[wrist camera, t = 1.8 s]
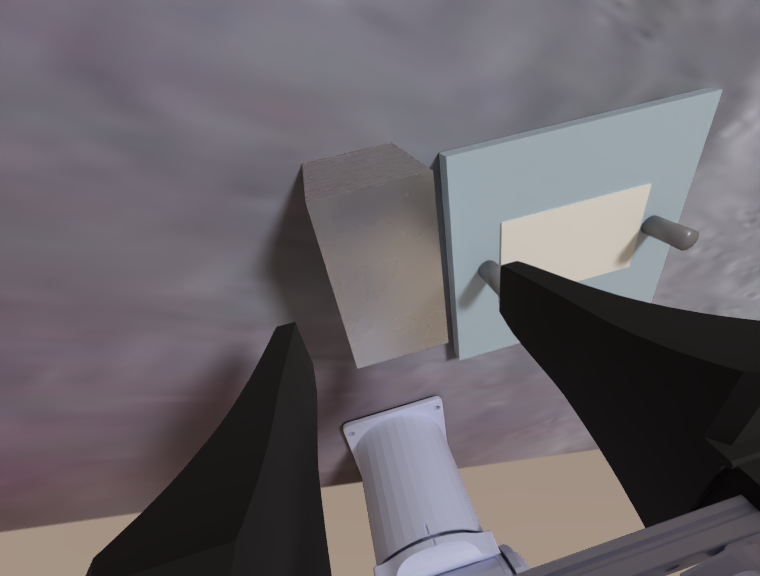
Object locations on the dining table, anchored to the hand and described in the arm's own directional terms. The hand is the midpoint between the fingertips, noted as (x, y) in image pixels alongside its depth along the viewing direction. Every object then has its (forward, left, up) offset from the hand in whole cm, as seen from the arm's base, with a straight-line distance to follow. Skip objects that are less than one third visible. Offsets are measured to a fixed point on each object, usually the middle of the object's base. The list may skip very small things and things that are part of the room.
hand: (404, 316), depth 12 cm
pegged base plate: (-4, -12, -8) cm, 15 cm away
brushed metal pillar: (0, 0, -8) cm, 8 cm away
